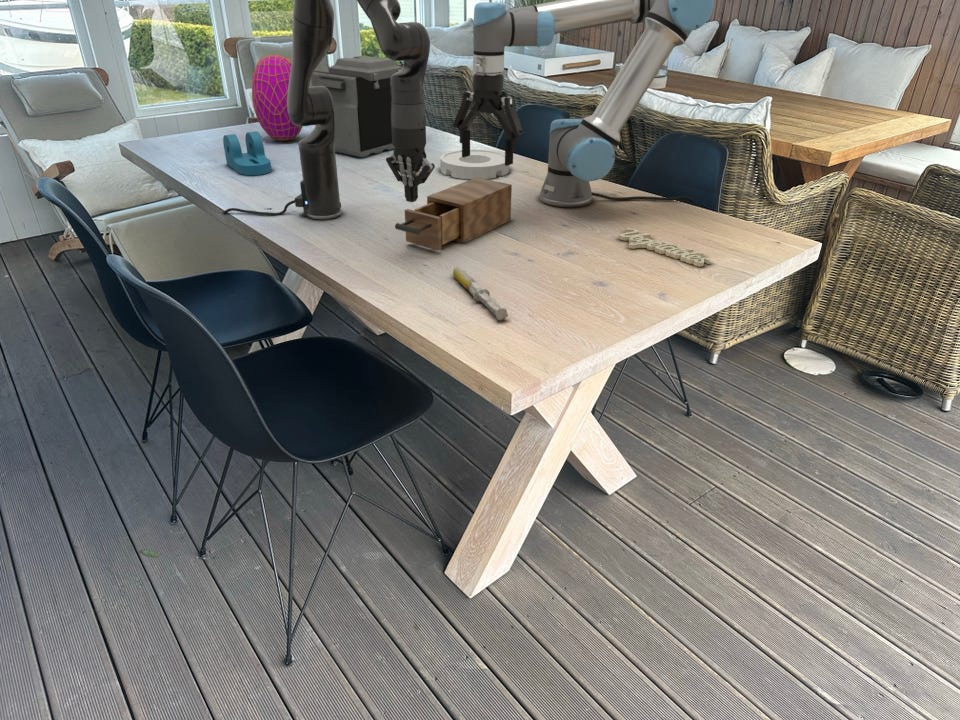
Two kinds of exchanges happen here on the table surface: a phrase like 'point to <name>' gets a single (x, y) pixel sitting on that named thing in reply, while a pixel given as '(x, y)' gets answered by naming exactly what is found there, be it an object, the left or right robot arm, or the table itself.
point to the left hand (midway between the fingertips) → (411, 201)
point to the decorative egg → (273, 97)
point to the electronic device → (360, 103)
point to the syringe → (479, 293)
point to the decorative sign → (663, 247)
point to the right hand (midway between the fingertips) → (487, 160)
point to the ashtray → (474, 164)
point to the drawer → (432, 225)
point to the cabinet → (477, 205)
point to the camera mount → (246, 154)
